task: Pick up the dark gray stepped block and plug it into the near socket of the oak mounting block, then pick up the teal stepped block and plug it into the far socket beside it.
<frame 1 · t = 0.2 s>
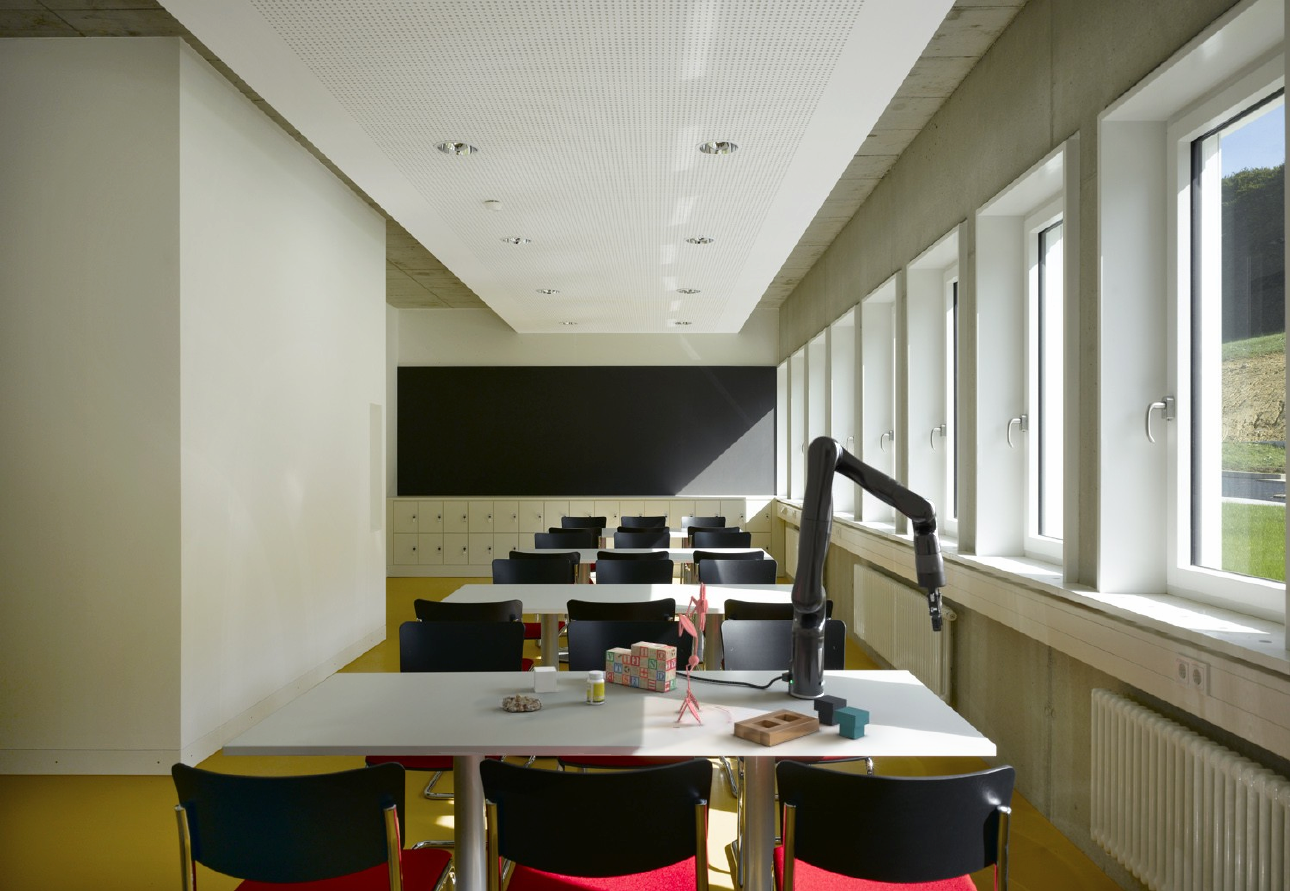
hand: (938, 628, 238), 22 cm above the table, tool pointing down, fingers open, 8 cm apart
teal stepped block: (851, 735, 213), on the table
supplement bottle: (595, 703, 238), on the table
mineral rock: (521, 709, 231), on the table
figurine: (704, 718, 225), on the table
dark gray stepped block: (829, 722, 224), on the table
white cube: (544, 690, 251), on the table
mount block: (776, 732, 214), on the table
stack of blocks: (640, 685, 258), on the table
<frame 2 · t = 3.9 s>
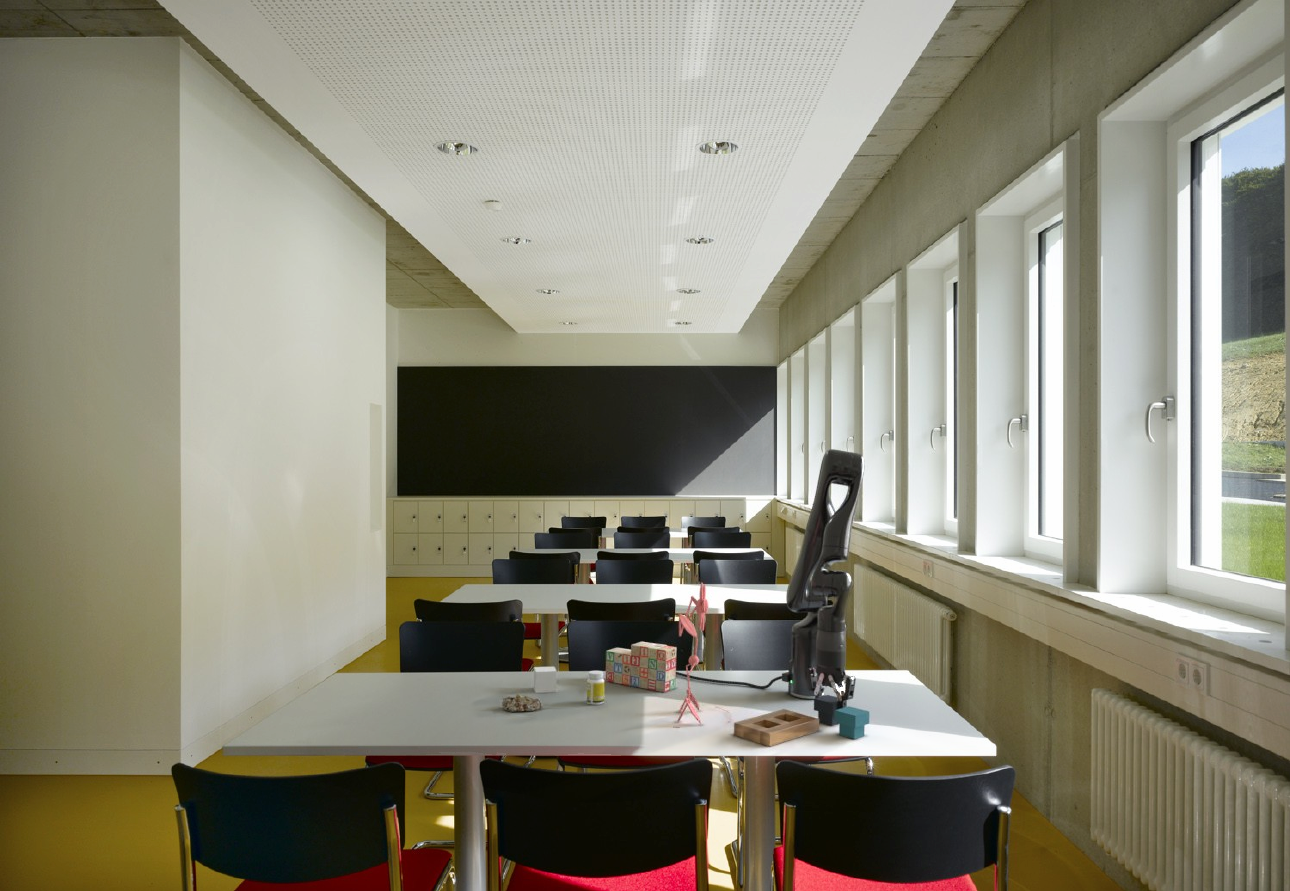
hand: (830, 712, 224), 3 cm above the table, tool pointing down, fingers closed on dark gray stepped block, 6 cm apart
dark gray stepped block: (830, 722, 224), on the table, touching gripper
everything else where it was.
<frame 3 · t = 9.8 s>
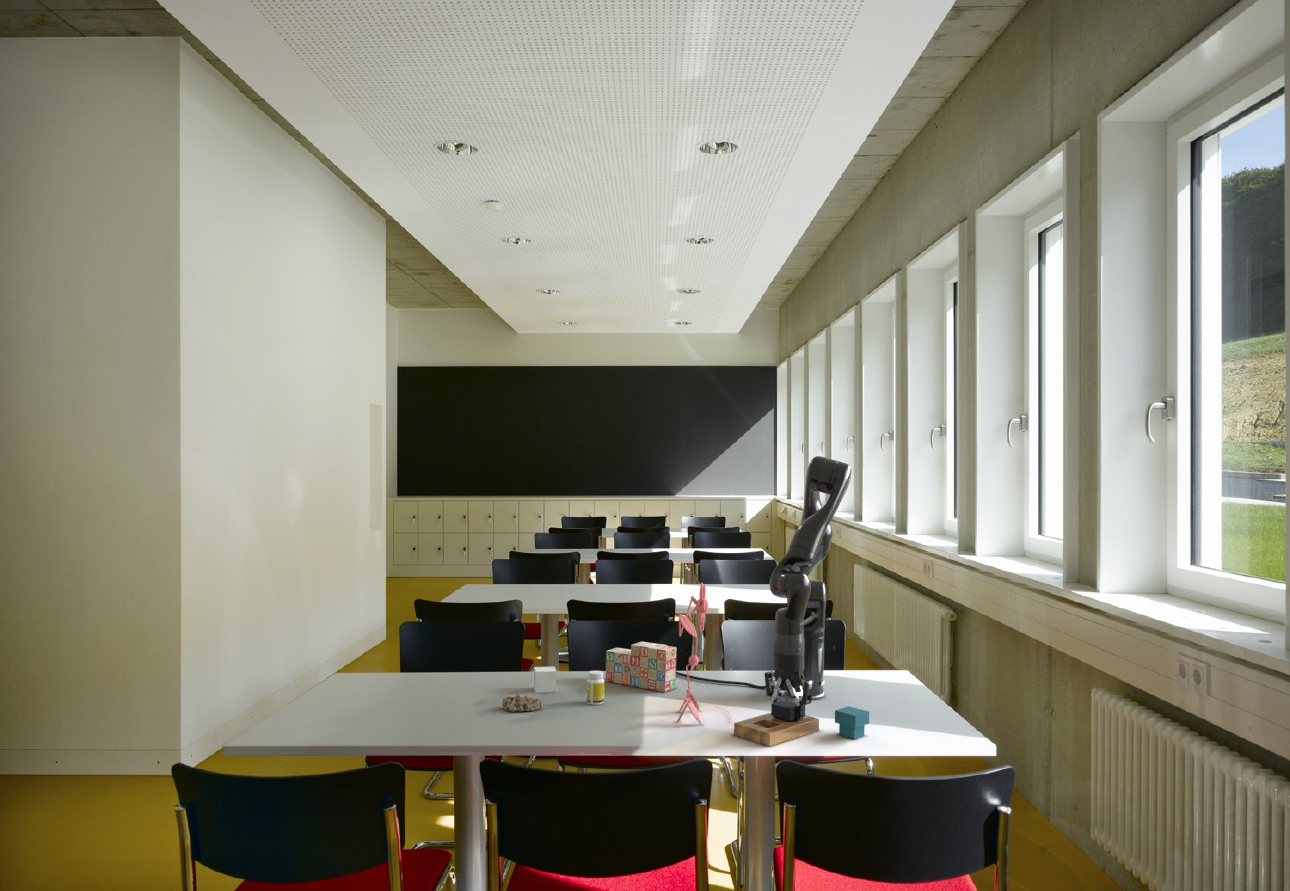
hand: (788, 717, 217), 3 cm above the table, tool pointing down, fingers closed on dark gray stepped block, 6 cm apart
dark gray stepped block: (787, 728, 216), resting in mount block, touching gripper
everything else where it was.
when the fingers open (4 cm above the table, at t = 16.1 s): dark gray stepped block stays where it is, resting on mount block.
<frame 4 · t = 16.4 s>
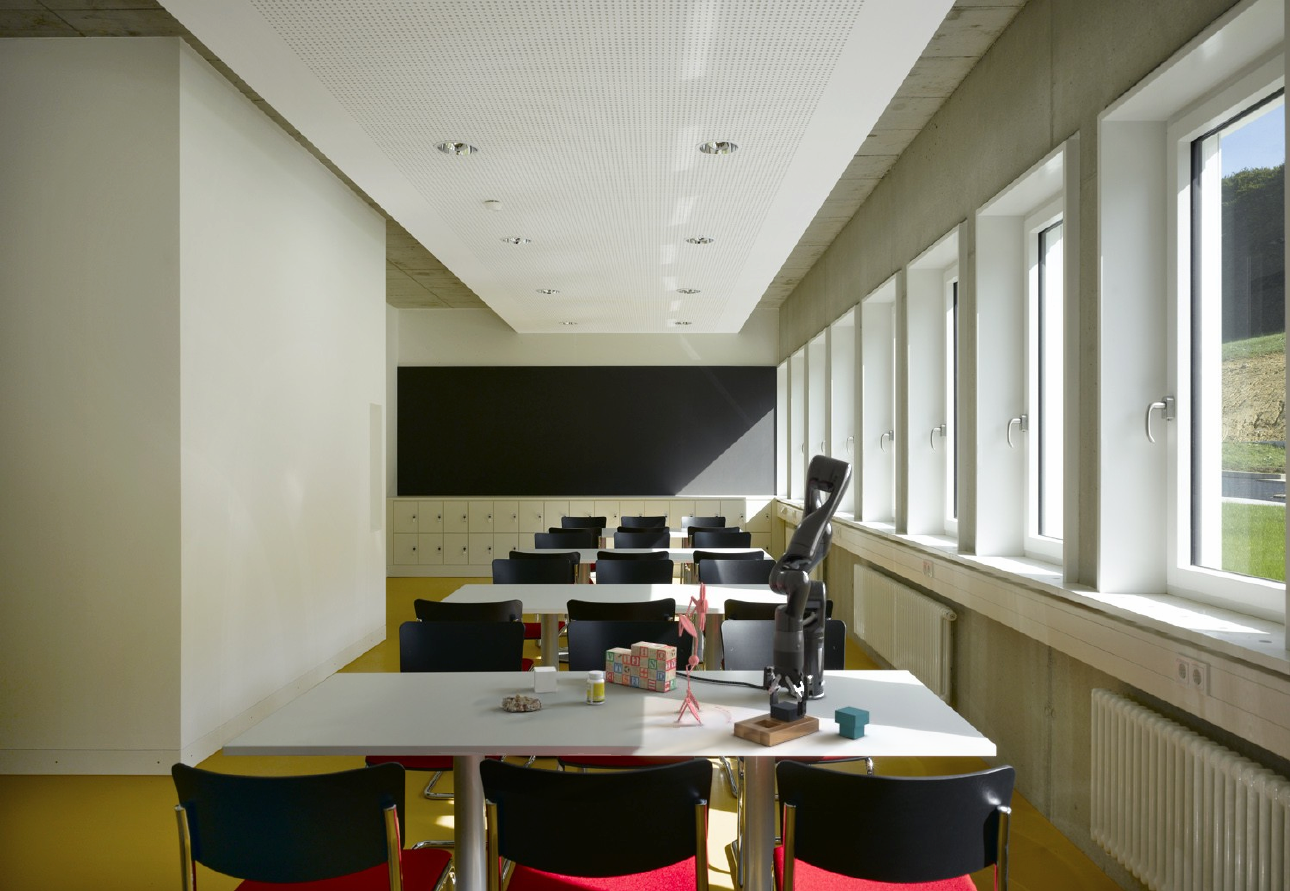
hand: (787, 712, 217), 4 cm above the table, tool pointing down, fingers open, 8 cm apart
dark gray stepped block: (786, 729, 217), resting on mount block
everything else where it was.
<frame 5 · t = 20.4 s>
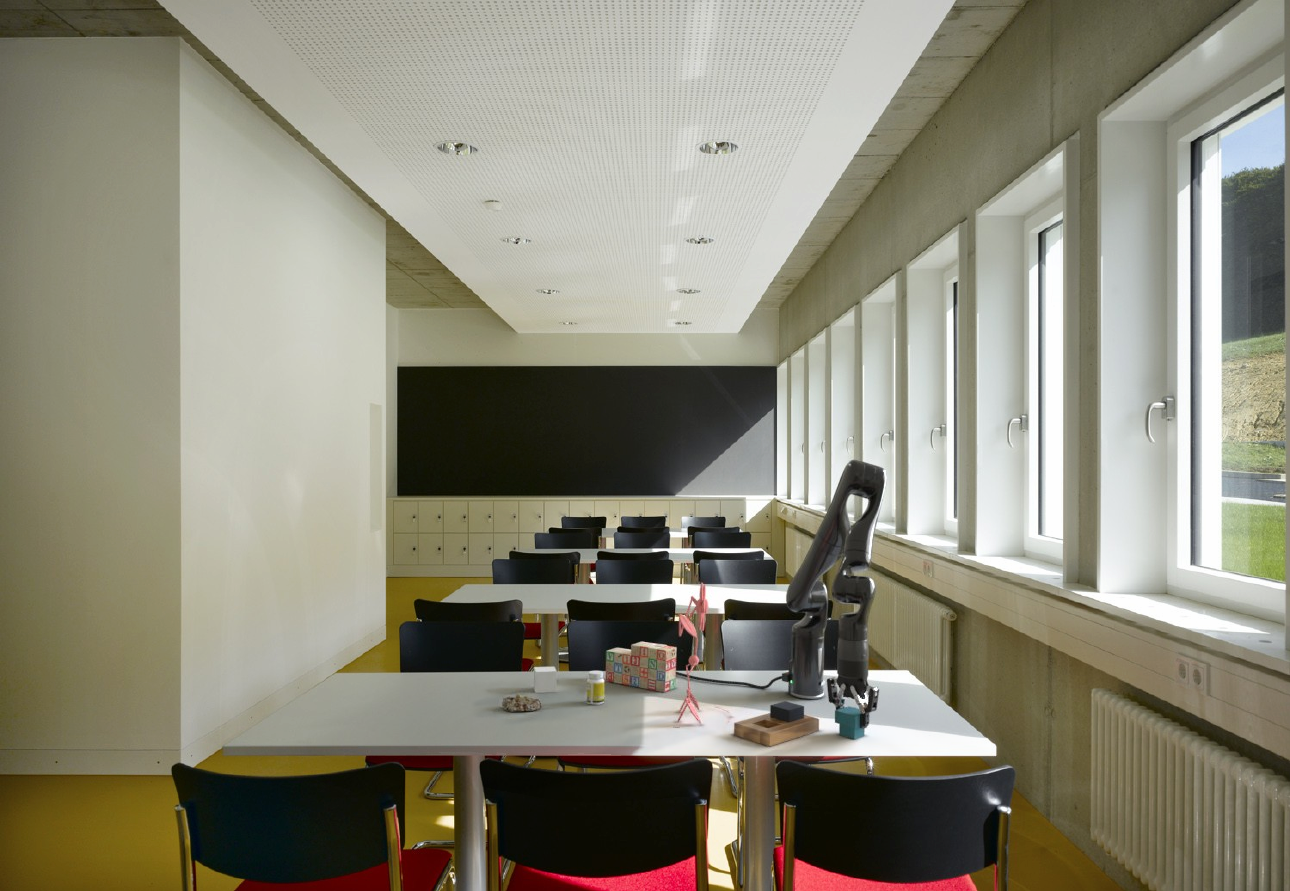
hand: (851, 724, 213), 3 cm above the table, tool pointing down, fingers closed on teal stepped block, 6 cm apart
teal stepped block: (851, 735, 213), on the table, touching gripper
everything else where it was.
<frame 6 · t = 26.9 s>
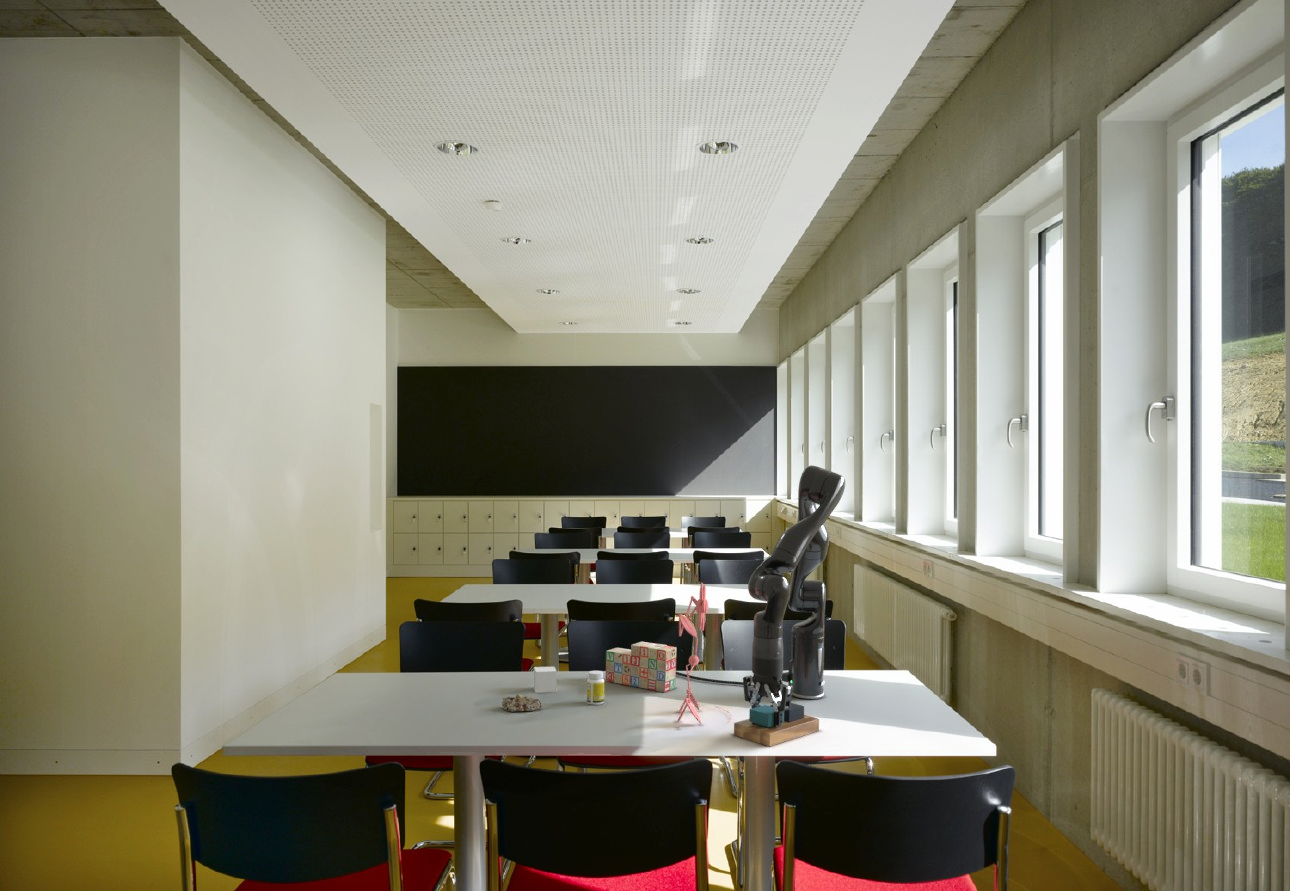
hand: (766, 723, 211), 3 cm above the table, tool pointing down, fingers closed on teal stepped block, 6 cm apart
teal stepped block: (766, 734, 211), resting in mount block, touching gripper
everything else where it was.
when the fingers open (4 cm above the table, at t = 33.3 s): teal stepped block stays where it is, resting on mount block.
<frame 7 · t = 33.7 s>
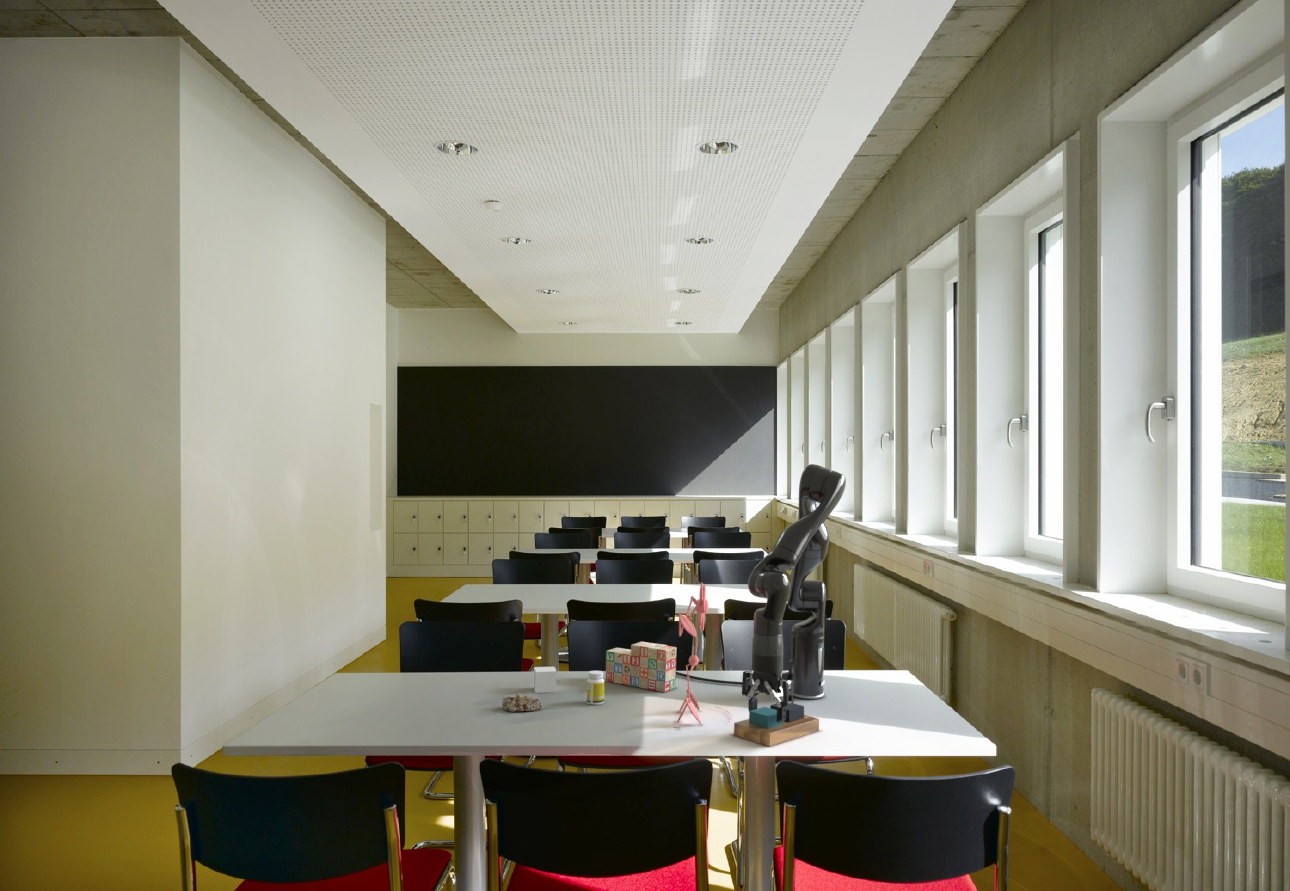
hand: (766, 718, 211), 4 cm above the table, tool pointing down, fingers open, 8 cm apart
teal stepped block: (766, 736, 211), resting on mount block
everything else where it was.
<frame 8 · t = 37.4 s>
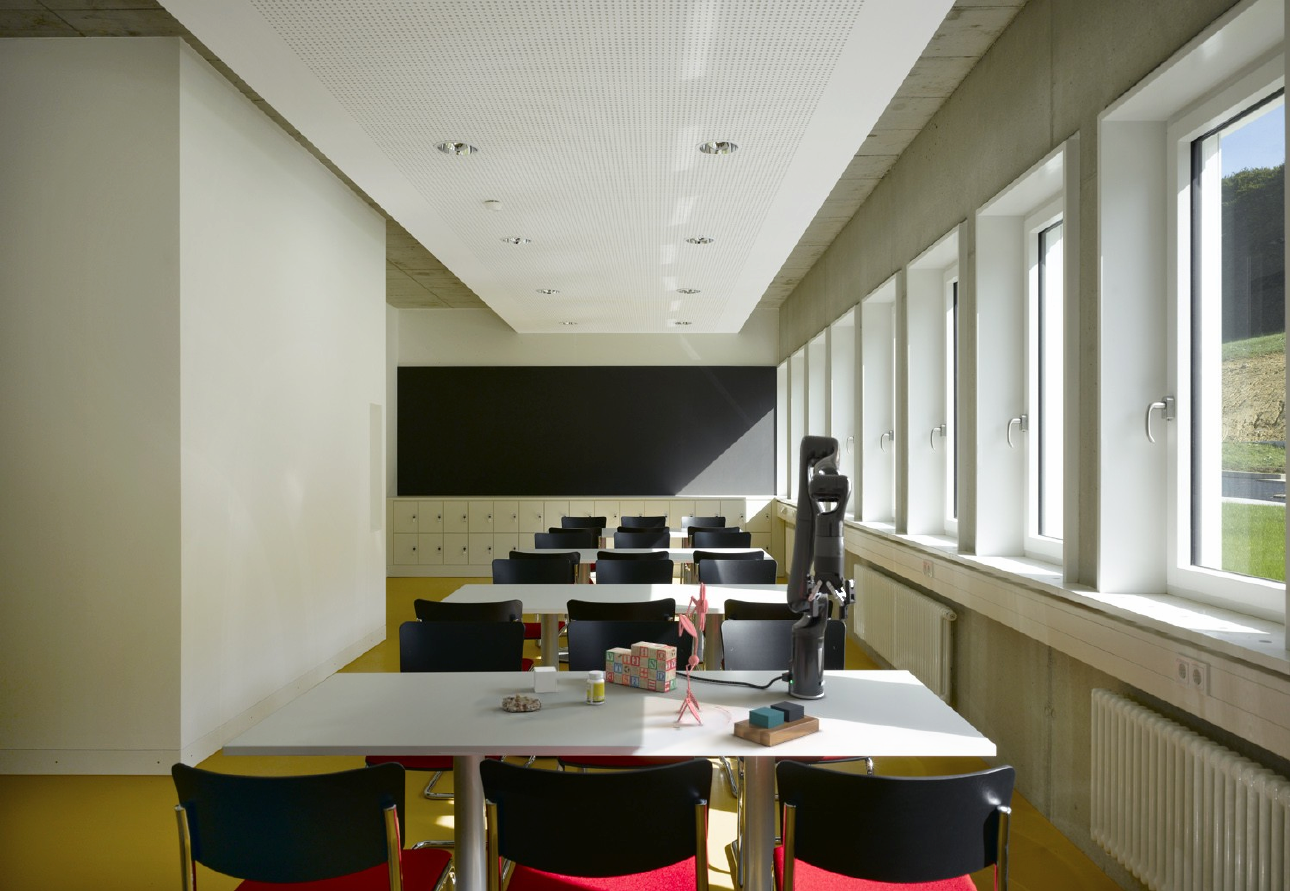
hand: (828, 618, 217), 28 cm above the table, tool pointing down, fingers open, 8 cm apart
nothing on the table moved.
at the end: dark gray stepped block 0.1 cm from the target spot in the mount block, point 0.0 cm above the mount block's base; teal stepped block 0.0 cm from the target spot in the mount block, point 0.0 cm above the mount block's base; teal stepped block tilted 0° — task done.
